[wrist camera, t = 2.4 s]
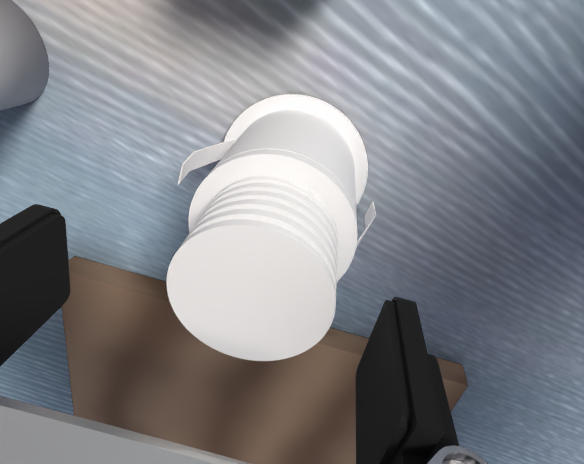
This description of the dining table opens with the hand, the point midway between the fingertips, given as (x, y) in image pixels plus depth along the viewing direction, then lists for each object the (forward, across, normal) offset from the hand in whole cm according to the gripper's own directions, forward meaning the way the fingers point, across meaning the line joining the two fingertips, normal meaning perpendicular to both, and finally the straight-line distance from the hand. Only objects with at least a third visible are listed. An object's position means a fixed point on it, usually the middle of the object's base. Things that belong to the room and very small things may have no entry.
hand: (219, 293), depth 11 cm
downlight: (+10, -1, -1) cm, 10 cm away
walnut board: (+10, -1, +16) cm, 19 cm away
